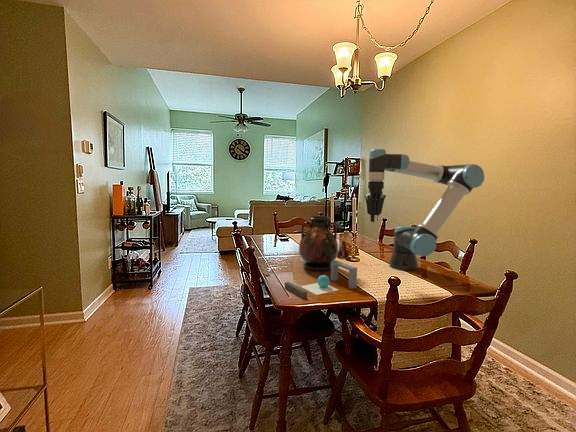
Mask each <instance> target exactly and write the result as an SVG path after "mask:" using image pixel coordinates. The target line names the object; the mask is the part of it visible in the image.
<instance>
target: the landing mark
mask: <svg viewBox="0 0 576 432" xmlns="http://www.w3.org/2000/svg"><path fill="white" fill-rule="evenodd" d="M299 288H301V289H303V290H305V291H307V292H310V293H311V294H314V296H319V295H324V294H328V293H333V292H337V291H339V289H337V288H336V287H334V286H331V285H330V284H329V285H328V286H327V287H325V288H323V287H320V286H319V285H318V282H314V283H311V284H306V285H300V287H299Z"/></svg>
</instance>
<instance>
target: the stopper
mask: <svg viewBox="0 0 576 432" xmlns="http://www.w3.org/2000/svg"><path fill="white" fill-rule="evenodd" d="M284 289H286V290H288V291H290V292H291V293H293V294H294V295H296V296H298V297H300V298H302V299H306V298H307V297H308V290H306V289H304V288H302V287H299V286H298V285H295V284H294V283H292V282H290V281H286V282H284Z"/></svg>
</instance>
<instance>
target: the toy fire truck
mask: <svg viewBox="0 0 576 432" xmlns="http://www.w3.org/2000/svg"><path fill="white" fill-rule="evenodd" d="M346 244H347V243H346V241H344V240H343V239H341V238H340V239H339V241H338V255H337V257H336V259H337V258H341V257H343V258H345V259H347V257H348V258H349V257H350V256H349V255H350V254H349V253H350V252H349V250H347V249H346V248H347V247H346Z"/></svg>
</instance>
